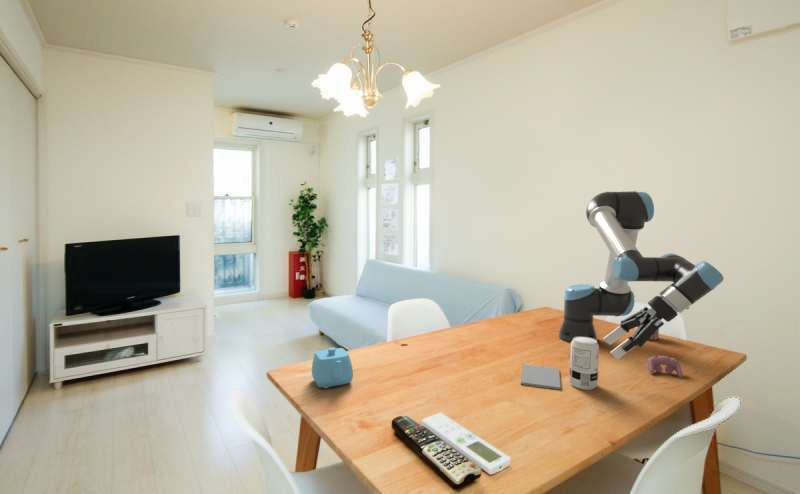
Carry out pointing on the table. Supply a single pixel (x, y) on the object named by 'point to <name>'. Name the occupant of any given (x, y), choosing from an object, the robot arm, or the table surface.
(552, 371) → the grey rubber mat
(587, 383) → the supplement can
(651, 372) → the video game controller
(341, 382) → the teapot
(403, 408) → the table surface
